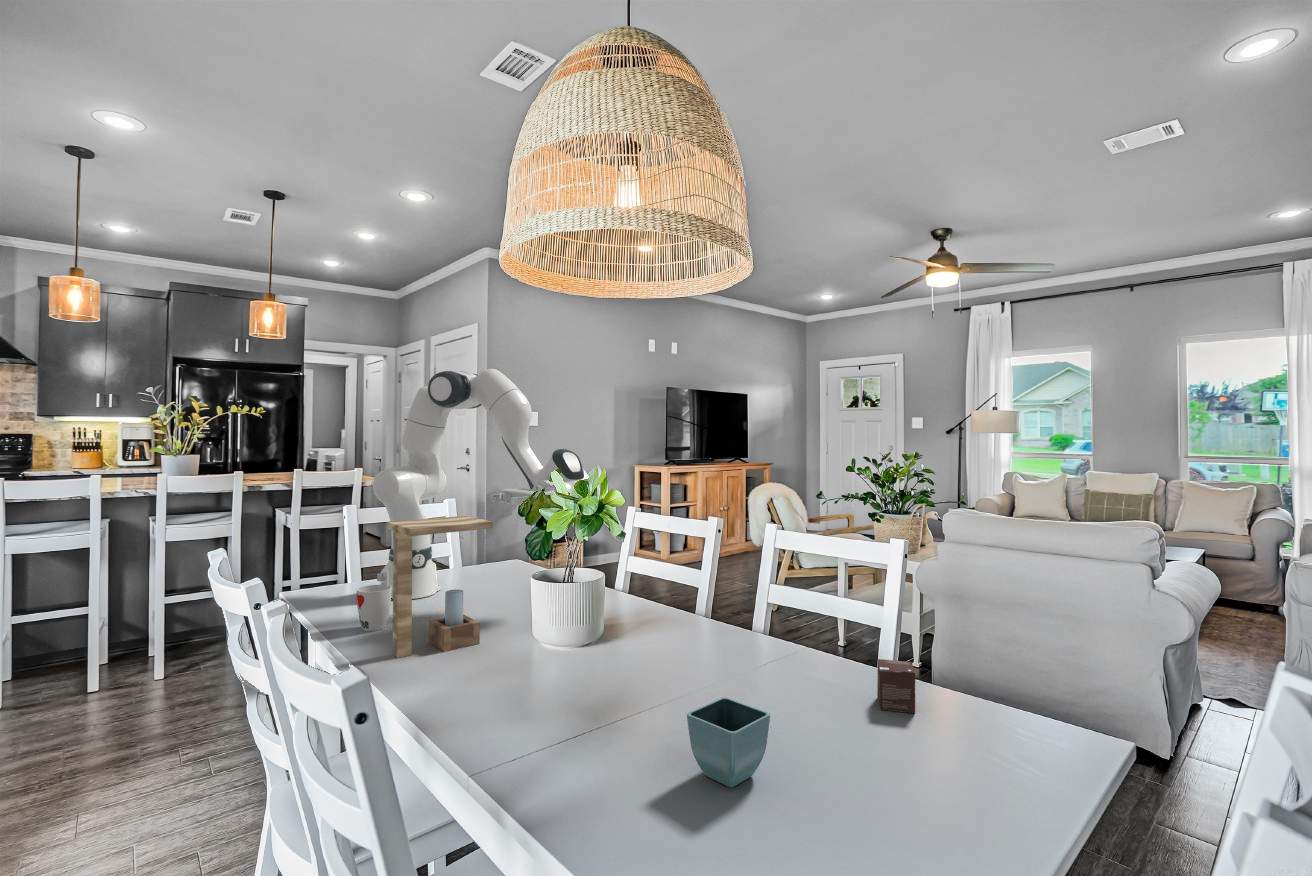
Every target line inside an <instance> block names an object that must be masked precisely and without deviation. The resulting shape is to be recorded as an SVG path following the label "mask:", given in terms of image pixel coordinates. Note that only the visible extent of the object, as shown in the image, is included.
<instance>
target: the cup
mask: <svg viewBox="0 0 1312 876" xmlns="http://www.w3.org/2000/svg"><path fill="white" fill-rule="evenodd" d="M391 593H392V586H389V585H379V584H370V585H369V584H368V585H364V586H360V587H358V588H356V603H357V604H356V606H357V612H358V618H359V619H358V620H359V623H360V624H361V629H362V631H364V632H376V631H377V630H378V631H381V629H382V630H384V629H385V628H386V625H387V622H388V619H389V614H390V608H391V605H392V604H391V603H392V599H391ZM384 627H385V628H384ZM383 628H384V629H383ZM378 631H377V632H378Z"/></svg>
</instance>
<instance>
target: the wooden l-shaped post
mask: <svg viewBox="0 0 1312 876" xmlns="http://www.w3.org/2000/svg"><path fill="white" fill-rule="evenodd" d="M493 528H494V521H492V520H487V519H482V518H477V517H473V516H468V515H461V516H459V515H458V516H449V517H447V516H446V517H436V518H435V517H434V518H432V517H431V518H428V519H420V520H408V521H396V522H390V521H387V522H386V529H387V530H389V531H391V530H392V531H395V532H393V599H392V655H393V656H394V657H395V658H397V659H400V658H403V657H404V656H405V657H408V656H412V653H413V652H412V651H413V650H412V649H413V646H412V645H413V644H412V643H413V641H412V639H413V636H412V635H413V633H412V631H413V629H412V627H413V623H412V622H413V621H412V617H413V614H412V613H413V612H412V611H413V599H412V536H419V535H429V534H430V535H436V534H437V535H438V534H447V533H457V532H466V531H467V532H469V531H477V530H489V529H493ZM399 657H400V658H399Z"/></svg>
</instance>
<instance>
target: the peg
mask: <svg viewBox="0 0 1312 876" xmlns="http://www.w3.org/2000/svg"><path fill="white" fill-rule="evenodd" d="M444 596H445V597H444V600H445V602H444V604H445V606H444V607H445V609H444V618H445V625H446V626H448V627H449V626H454V625H459V624H463V615H464V590H463V589H449V590H446V591H445V593H444Z"/></svg>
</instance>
